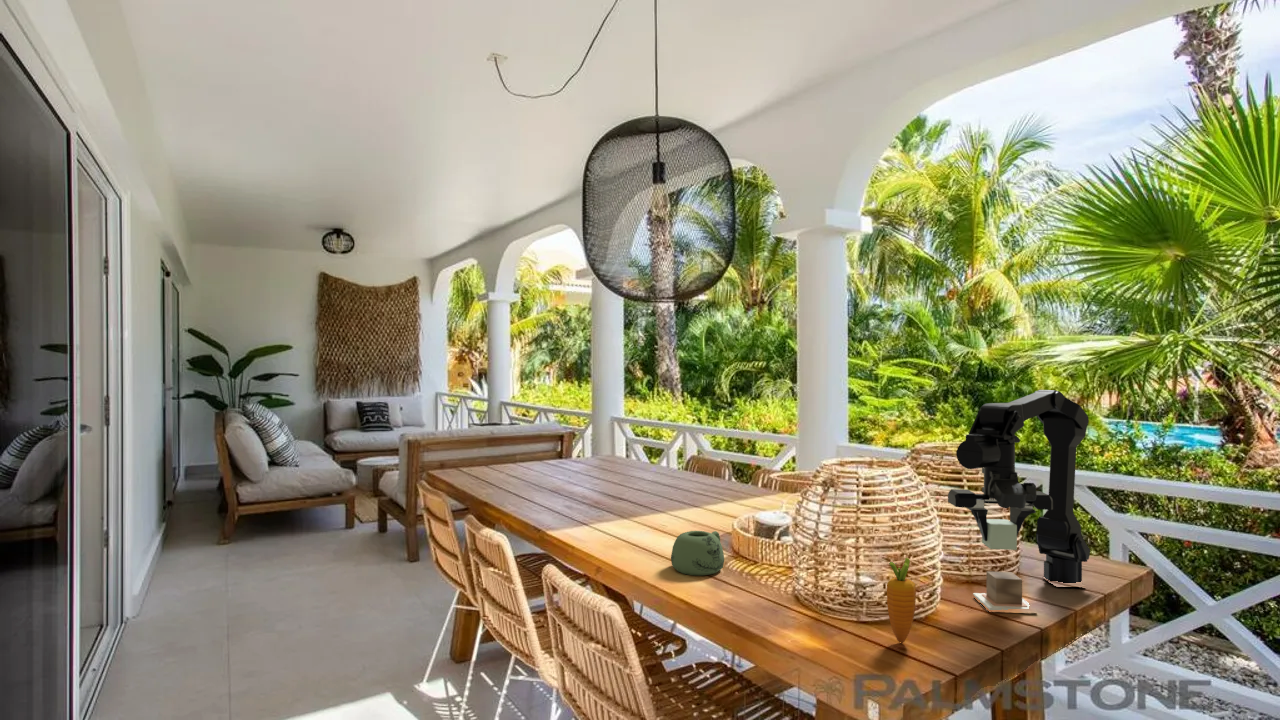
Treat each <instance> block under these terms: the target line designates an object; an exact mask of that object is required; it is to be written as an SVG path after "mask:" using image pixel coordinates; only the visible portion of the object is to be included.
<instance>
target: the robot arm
mask: <svg viewBox="0 0 1280 720" xmlns="http://www.w3.org/2000/svg"><path fill="white" fill-rule="evenodd" d="M1034 417H1037V418H1038V420H1039V421H1040V422H1041V424H1043V425H1042V426H1043V427H1042V428H1043V434H1044V435H1045V439H1047V441H1048V443H1049V444H1050V457H1049V459H1050V460H1049V463H1050V464H1049V477H1048V478H1049V479H1048V480H1049V481H1048V493H1045V492H1042V491H1039V490H1037V486H1036V484H1035V483H1034V482H1023V483H1020V481H1019V477H1018V472H1016V443H1020V442H1021V439H1020V438H1019V436H1017V435H1016V432H1018V431H1020V430H1021V429H1022V428H1023V427H1024V426H1025V422H1026V421H1027V420H1030V419H1032V418H1034ZM1088 426H1089V416H1088V414H1087V413H1086V412H1085V410H1084V409H1083V408H1082V406H1081V405H1080V404H1078V403H1076V402H1075V401H1073V400H1071V399H1069V398H1067V397H1066V396H1065V395H1064V393H1063V392H1061V391H1058V390H1054V389H1053V390H1051V389H1039V390H1035V391H1034V392H1033V393H1030V394H1028V395H1025V396H1022V397H1020V398H1017V399H1015V400H1012V401H1009V402H994V403H993V402H989V403H984V404H983V405H982V406H981V407H980V409H979V410H978V412H977V415H976V417H975V419H974V421H973V423H972V426H971V427H970V430H969V432H968V434H967V433H966V434H965V440H964V441H962V442H960V444H959V445H958V446H957V449H956V451H955V453H956V459H957V462H959V464H960V465H961V467H964V468H965V469H967V470H975V469H981V473H982V474H983V487H981V492H982V493H983V494H982V493H975V492H973V491H971V490H970V489H965V488H964V489H955V488H954V489H953V488H951V489H949V491H948V493H947V502H948V503H949V504H950V505H952V506H954V507H956V508H966V509H968V510H969V511H970V512H971V514H972V516H973V517H974V520H975V522H976V524H977V527H978V528H979V533H980V534H981V538H982V537H983V539H984V541H987V537H988V531H987V519H988V518H987V515H988V512H989V510H988V509H987V508H986V507H985V504H994V505H995V504H997V505H998V506H999V507H1000V508H1003V509H1009V521H1011V522H1012V523H1014V524H1016V525H1017V536H1018V535H1019V533H1020V531H1021V528H1022V525H1023V524H1024V521H1025V520H1026V518H1028V516H1029V515H1031V514H1036V510H1046V511H1045V513H1044V514H1043V515H1042V516H1038V518H1037V520H1036V522H1037V523H1036V525H1037V526H1036V532H1035V539H1036V543H1037V547H1038V552H1039V554H1040V555H1045V560H1044V561H1043V577H1045V578H1046V579H1048V580H1050V581H1058V582H1063V583H1076V582H1081V581H1082V582H1083V562H1084V563H1087V562H1088V560H1089V559H1090V556H1091V555H1090V554H1091V549H1090V547H1089V546H1088V544H1087V543H1086V540H1085V539H1084V538H1083V536H1082V526H1081V524H1080V521H1078V518H1077V517H1076V515H1075V514H1074V504H1075V503H1074V502H1075V486H1076V485H1075V482H1076V460H1077V447H1078V446H1079V445H1080V444H1081V443H1082V441H1083V440H1084V439H1085V437H1086V434H1087V428H1088ZM1034 508H1035V509H1036V510H1035V509H1034Z"/></svg>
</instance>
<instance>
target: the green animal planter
mask: <svg viewBox="0 0 1280 720" xmlns="http://www.w3.org/2000/svg"><path fill="white" fill-rule="evenodd" d="M670 560H671V566H672V568H674V569H675V571H677V572H678V573H681V574H683V575H689V576H701V577H702V576H709V575H715V574H717V573H718V572H719V571H721V570H722V569H723V568H724V562H725V554H724V549H723V545H722V543H721V537H720V533H719V532H718V531H716V530H715V531H712V532H708V531H703V530H690V531H686V532H682V533H680V534H679V535H677V537H676V538H675V540H674V542H673V545H672V550H671V555H670Z"/></svg>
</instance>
